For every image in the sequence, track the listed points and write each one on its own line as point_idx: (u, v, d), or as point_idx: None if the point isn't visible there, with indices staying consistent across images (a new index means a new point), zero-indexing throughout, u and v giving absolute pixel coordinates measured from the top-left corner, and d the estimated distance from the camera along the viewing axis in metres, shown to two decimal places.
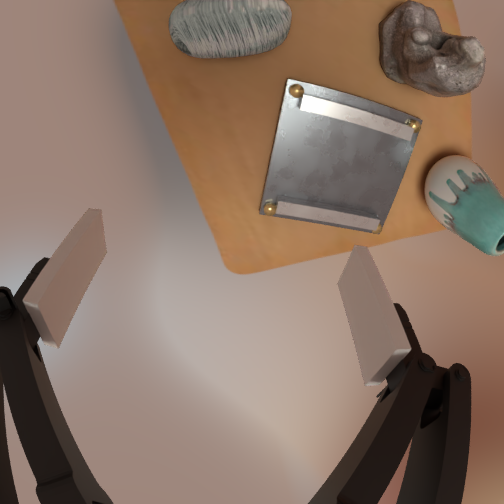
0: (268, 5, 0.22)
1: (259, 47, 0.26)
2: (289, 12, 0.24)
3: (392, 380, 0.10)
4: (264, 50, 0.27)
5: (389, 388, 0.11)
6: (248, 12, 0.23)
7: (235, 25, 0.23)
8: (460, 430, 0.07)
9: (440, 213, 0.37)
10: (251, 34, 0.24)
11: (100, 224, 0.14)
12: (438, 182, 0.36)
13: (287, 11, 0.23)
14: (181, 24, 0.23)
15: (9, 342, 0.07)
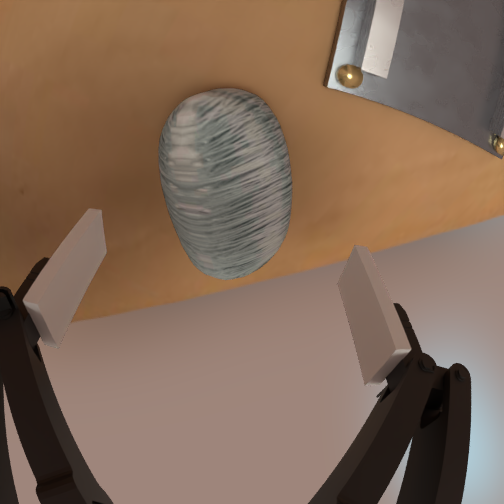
0: (190, 145, 0.15)
1: (279, 152, 0.17)
2: (200, 101, 0.15)
3: (392, 380, 0.10)
4: (282, 138, 0.17)
5: (389, 388, 0.11)
6: (208, 182, 0.16)
7: (237, 202, 0.17)
8: (460, 430, 0.07)
9: None
10: (254, 174, 0.16)
11: (100, 224, 0.14)
12: None
13: (198, 106, 0.15)
14: (229, 272, 0.21)
15: (9, 342, 0.07)
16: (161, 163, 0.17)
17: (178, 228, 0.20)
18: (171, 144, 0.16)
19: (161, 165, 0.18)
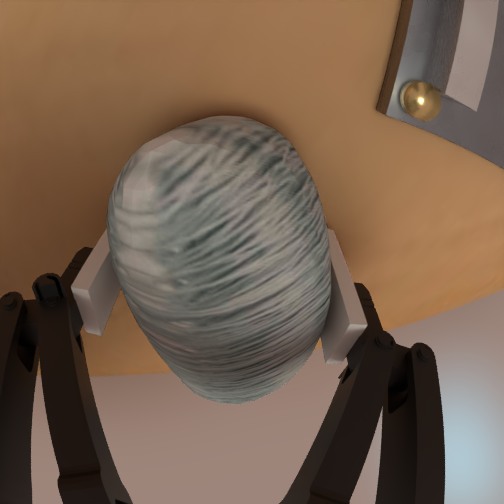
0: (150, 252, 0.08)
1: (318, 252, 0.09)
2: (165, 156, 0.08)
3: (351, 360, 0.11)
4: (322, 219, 0.10)
5: (349, 368, 0.11)
6: (188, 316, 0.09)
7: (240, 344, 0.09)
8: (431, 412, 0.08)
9: None
10: (273, 301, 0.09)
11: None
12: None
13: (161, 168, 0.08)
14: (229, 401, 0.13)
15: (52, 330, 0.08)
16: (112, 259, 0.10)
17: (152, 345, 0.12)
18: (118, 240, 0.09)
19: (112, 262, 0.10)
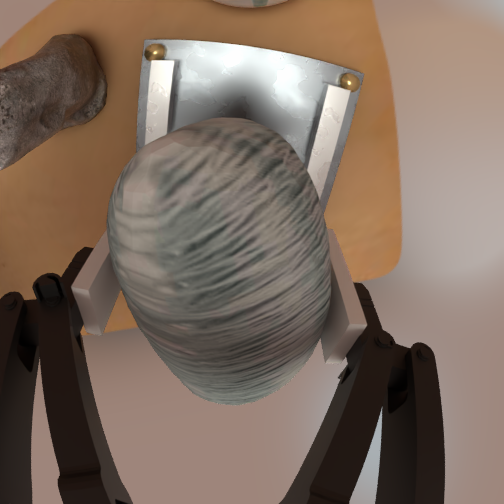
0: (150, 255, 0.08)
1: (318, 255, 0.09)
2: (166, 158, 0.08)
3: (350, 360, 0.11)
4: (322, 222, 0.10)
5: (349, 368, 0.11)
6: (189, 319, 0.09)
7: (240, 346, 0.09)
8: (431, 412, 0.08)
9: None
10: (273, 304, 0.09)
11: None
12: (226, 1, 0.16)
13: (162, 171, 0.08)
14: (229, 402, 0.13)
15: (53, 330, 0.08)
16: (112, 261, 0.10)
17: (152, 346, 0.12)
18: (118, 242, 0.09)
19: (112, 264, 0.10)
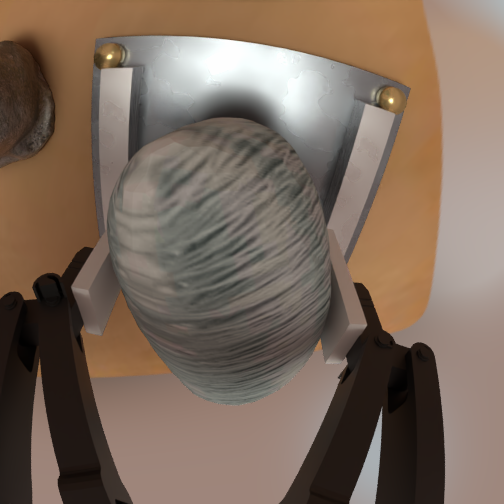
0: (150, 255, 0.08)
1: (318, 255, 0.09)
2: (166, 158, 0.08)
3: (350, 360, 0.11)
4: (322, 222, 0.10)
5: (349, 368, 0.11)
6: (189, 319, 0.09)
7: (240, 346, 0.09)
8: (431, 412, 0.08)
9: None
10: (273, 304, 0.09)
11: None
12: None
13: (162, 171, 0.08)
14: (229, 402, 0.13)
15: (53, 330, 0.08)
16: (112, 261, 0.10)
17: (152, 346, 0.12)
18: (118, 242, 0.09)
19: (112, 264, 0.10)
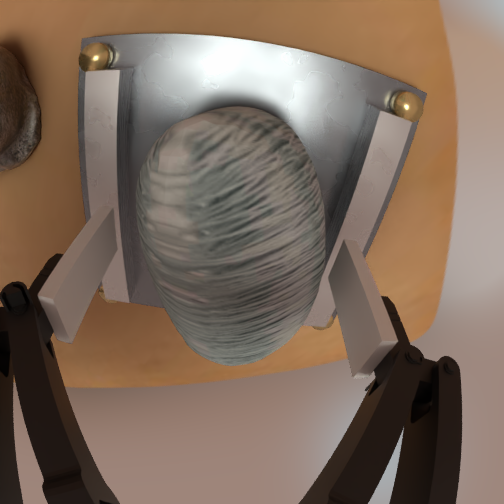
0: (179, 207, 0.10)
1: (315, 219, 0.11)
2: (197, 132, 0.10)
3: (379, 373, 0.11)
4: (319, 194, 0.12)
5: (377, 381, 0.11)
6: (206, 265, 0.11)
7: (248, 293, 0.11)
8: (452, 424, 0.07)
9: None
10: (277, 255, 0.11)
11: (112, 220, 0.14)
12: None
13: (194, 141, 0.10)
14: (230, 361, 0.15)
15: (22, 337, 0.07)
16: (138, 220, 0.12)
17: (164, 304, 0.14)
18: (150, 199, 0.10)
19: (138, 222, 0.12)
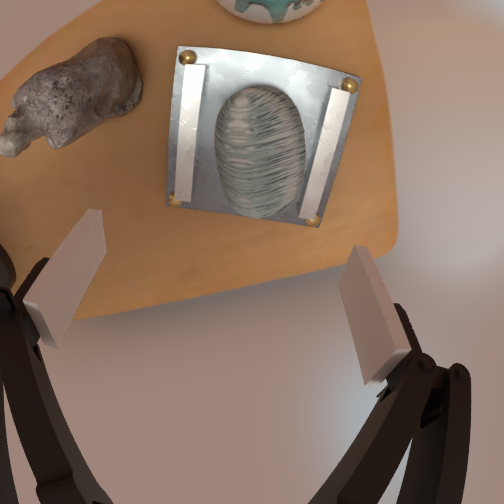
0: (244, 119, 0.24)
1: (299, 129, 0.25)
2: (250, 93, 0.24)
3: (392, 380, 0.10)
4: (300, 121, 0.26)
5: (389, 388, 0.11)
6: (254, 144, 0.25)
7: (270, 158, 0.25)
8: (461, 430, 0.07)
9: (298, 12, 0.19)
10: (283, 141, 0.25)
11: (100, 224, 0.14)
12: (250, 18, 0.21)
13: (250, 96, 0.24)
14: (259, 210, 0.29)
15: (9, 342, 0.07)
16: (219, 131, 0.26)
17: (225, 177, 0.28)
18: (229, 118, 0.24)
19: (219, 132, 0.26)
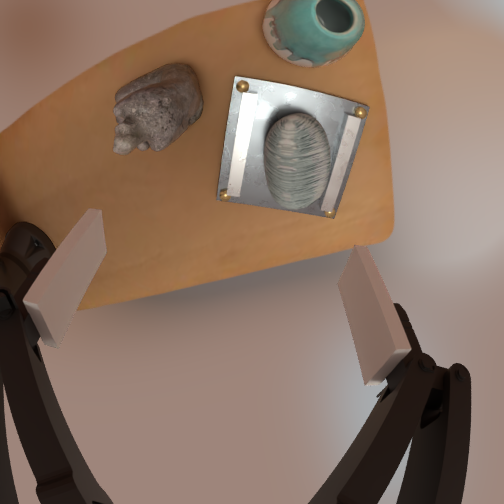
0: (292, 139, 0.35)
1: (327, 147, 0.37)
2: (295, 120, 0.35)
3: (392, 380, 0.10)
4: (327, 141, 0.37)
5: (389, 388, 0.11)
6: (298, 156, 0.36)
7: (309, 166, 0.36)
8: (460, 430, 0.07)
9: (331, 63, 0.30)
10: (317, 155, 0.36)
11: (100, 224, 0.14)
12: (296, 64, 0.32)
13: (295, 122, 0.35)
14: (297, 203, 0.40)
15: (9, 342, 0.07)
16: (271, 145, 0.37)
17: (274, 179, 0.39)
18: (280, 137, 0.35)
19: (271, 146, 0.37)
